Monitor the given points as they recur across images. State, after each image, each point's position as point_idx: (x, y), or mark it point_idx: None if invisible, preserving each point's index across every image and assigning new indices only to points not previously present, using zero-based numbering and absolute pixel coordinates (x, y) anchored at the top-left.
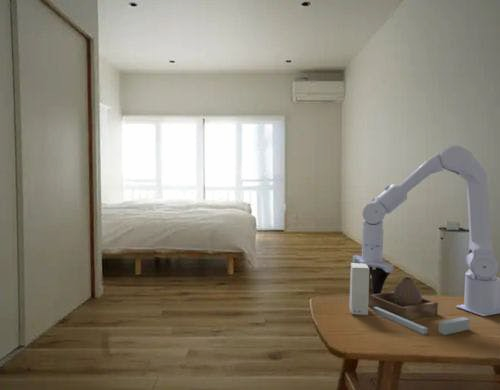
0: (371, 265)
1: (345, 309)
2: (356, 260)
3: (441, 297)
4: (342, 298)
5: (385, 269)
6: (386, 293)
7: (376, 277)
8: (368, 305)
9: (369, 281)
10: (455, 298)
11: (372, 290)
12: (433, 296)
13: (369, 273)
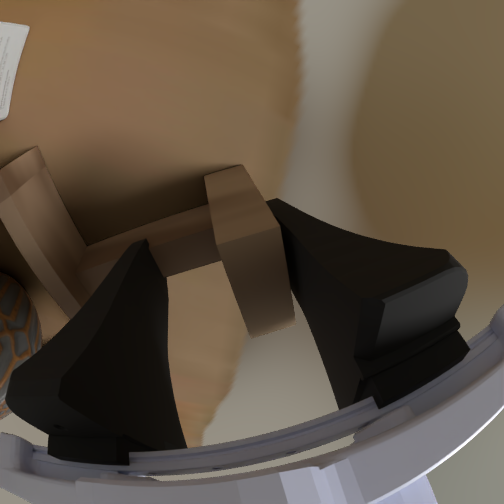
0: (235, 458)
1: (9, 6)
2: (499, 340)
3: (197, 415)
4: (221, 18)
5: (9, 454)
6: (61, 301)
7: (42, 351)
8: (33, 148)
9: (233, 286)
10: (188, 426)
11: (217, 259)
12: (208, 407)
13: (318, 343)
